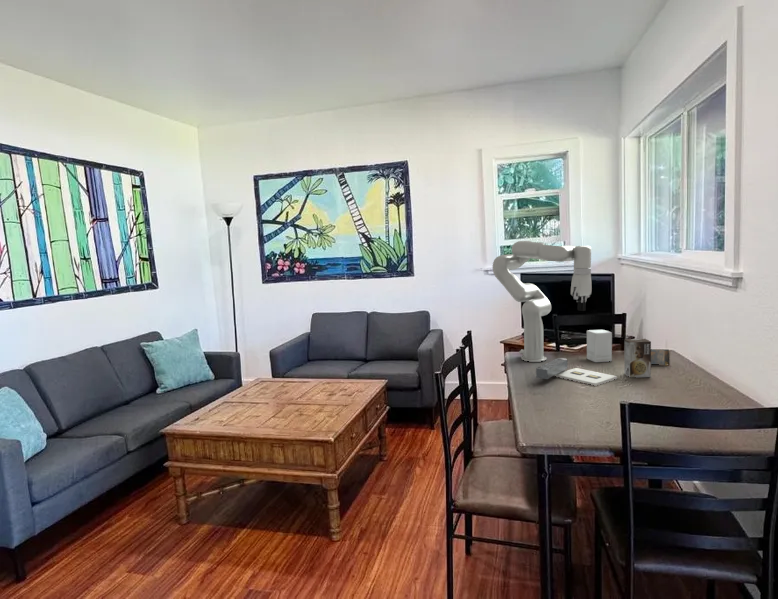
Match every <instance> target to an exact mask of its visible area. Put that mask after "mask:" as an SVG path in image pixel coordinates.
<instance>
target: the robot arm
mask: <svg viewBox="0 0 778 599" xmlns="http://www.w3.org/2000/svg"><path fill="white" fill-rule="evenodd" d="M530 259H531V260H532V259H533V260H540V261H548V262H557V263H558V262H559V263H561V262H562V263H563V262H571V261H573V274H572V277H571V286H570V295H571V296H572V297H573V300H576V303H577V307H576V308H577V311H581V312H584V311H586V303H587V299H588V298H590V297H591V295H592V289H593V288H592V273H591V272H592V247H591V246H590V245H571V244H570V245H553V244H552V245H550V244H545V243H544V242H540V241H539V242H537V241H531V240H519V241H516V242H514V243H513V245H512V246H511V254H508V253H507V254H501V255H499V256H496V257H495V259H494V260H493V262H492V272H493V275H494V276H495V278H496V279H497V281H498V282H499V283H500V284H502V286H503V287H504V289H506V291H507V293H509V294H510V296H511V297H512V298H513V299H514V300H515V301H516V302H518V303H523V305H522V307H521V313H522V318H523V340H524V341H523V343H524V344H523V345H524V346H523V347H524V349H520V350H519V351H518V353H519V354H521V355H522V356H521V358H520V359H521V360H522V361H523V360H524V362H527V361H529V363H530V362H531V363H541V361H543V362H545V360H546V361H547V356H545V355H544V324H543V319H542V317H544V316H547V315H548V314H550V312H551V311H552V304H551V302H550V300H549V299H548V297H547V296H546V295H545V294H544V293H543V292H542V291H541V289H540V288H539V287H538V286H537V285H535V284H534V283H530V282H526V283H525V282H522V281H521V280H520V279H519V277H518V276H517V275H516V274H514V273H513V272H512V271H514V270H517V269H520V268H521V267H522V266H523V265H524V264H526V262H528V261H529V260H530Z"/></svg>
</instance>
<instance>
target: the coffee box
mask: <svg viewBox="0 0 778 599" xmlns="http://www.w3.org/2000/svg"><path fill="white" fill-rule="evenodd" d="M651 349H652V341H650V340H649V339H646V338H629V339H628V338H627V339H625V338H624V360H623V361H624V369H623V370H624V372H623V373H624V375H625V374H626V375H625V376H627V377H628V376H629V378H630V377H636V378H651V377H652V365H651Z"/></svg>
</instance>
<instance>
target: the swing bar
mask: <svg viewBox="0 0 778 599" xmlns="http://www.w3.org/2000/svg"><path fill="white" fill-rule="evenodd" d="M567 369H568V359H567V358H566V357H557V358H554V359H553V360H550V361H548V362H547V363H544V364H543V365H541V366H538V367H537V368H536V369H535V377H536V378H538V379H542V380H543V379H544V380H549V379H550V378H552V377H555V375H556V374H558V373H560V372H561V371H563V370H565V371H566V370H567Z"/></svg>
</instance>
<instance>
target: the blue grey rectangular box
mask: <svg viewBox="0 0 778 599" xmlns="http://www.w3.org/2000/svg"><path fill="white" fill-rule="evenodd" d="M651 364H659V365H658V366H669V365H670V366H671V350H670V349H667V348H665V349H663V348H662V349H660V348H658V349H657V348H651ZM667 364H669V365H667Z"/></svg>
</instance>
